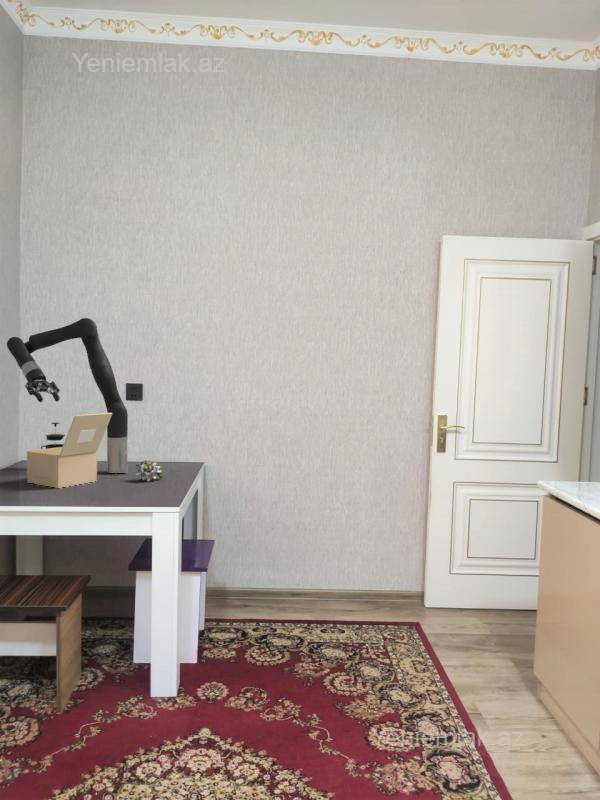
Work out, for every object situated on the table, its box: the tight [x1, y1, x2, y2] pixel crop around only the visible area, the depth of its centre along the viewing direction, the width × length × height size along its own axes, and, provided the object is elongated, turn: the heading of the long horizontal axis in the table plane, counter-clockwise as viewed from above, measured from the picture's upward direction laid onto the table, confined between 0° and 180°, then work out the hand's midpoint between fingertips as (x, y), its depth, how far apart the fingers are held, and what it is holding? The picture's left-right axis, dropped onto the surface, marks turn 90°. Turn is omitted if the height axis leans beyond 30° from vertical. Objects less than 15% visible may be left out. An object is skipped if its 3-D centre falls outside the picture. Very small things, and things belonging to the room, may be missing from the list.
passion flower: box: [134, 458, 164, 482], centre depth 292 cm, size 11×11×12 cm
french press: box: [40, 422, 66, 449], centre depth 315 cm, size 12×9×23 cm
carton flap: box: [60, 412, 112, 456], centre depth 273 cm, size 20×19×1 cm
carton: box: [26, 447, 98, 489], centre depth 282 cm, size 21×21×14 cm
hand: (50, 400), depth 284 cm, fingers open, 8 cm apart
